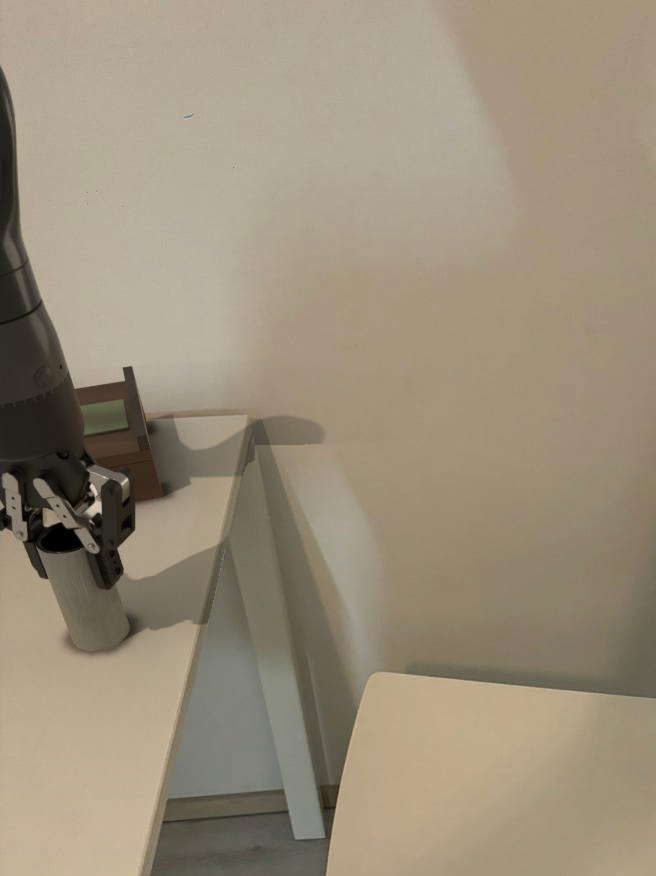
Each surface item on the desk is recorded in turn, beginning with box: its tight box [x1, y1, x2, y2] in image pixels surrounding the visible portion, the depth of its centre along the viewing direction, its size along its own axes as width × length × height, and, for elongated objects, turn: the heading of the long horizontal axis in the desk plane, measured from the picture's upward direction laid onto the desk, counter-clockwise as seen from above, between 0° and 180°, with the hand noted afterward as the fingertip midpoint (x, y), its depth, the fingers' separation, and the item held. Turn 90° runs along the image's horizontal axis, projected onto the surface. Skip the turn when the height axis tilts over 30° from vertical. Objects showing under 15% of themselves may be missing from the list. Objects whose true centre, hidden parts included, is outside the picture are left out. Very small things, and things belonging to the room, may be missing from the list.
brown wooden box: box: [73, 365, 164, 511], centre depth 95 cm, size 16×9×8 cm, turn 20°
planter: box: [35, 521, 131, 652], centre depth 74 cm, size 4×4×10 cm
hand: (81, 577), depth 73 cm, fingers closed on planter, 4 cm apart
